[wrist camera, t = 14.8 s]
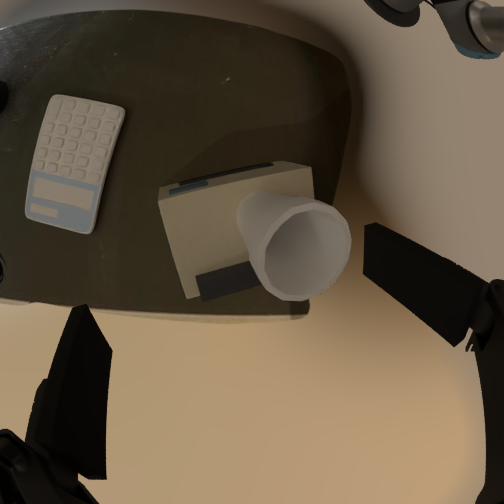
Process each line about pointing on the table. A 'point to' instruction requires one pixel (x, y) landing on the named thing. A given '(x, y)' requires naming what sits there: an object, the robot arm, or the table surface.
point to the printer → (221, 224)
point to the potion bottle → (3, 95)
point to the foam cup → (294, 243)
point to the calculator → (72, 162)
